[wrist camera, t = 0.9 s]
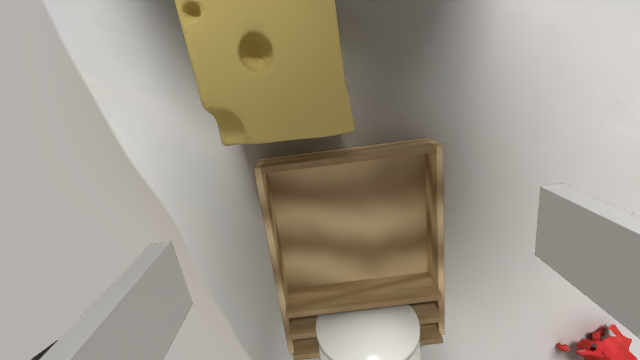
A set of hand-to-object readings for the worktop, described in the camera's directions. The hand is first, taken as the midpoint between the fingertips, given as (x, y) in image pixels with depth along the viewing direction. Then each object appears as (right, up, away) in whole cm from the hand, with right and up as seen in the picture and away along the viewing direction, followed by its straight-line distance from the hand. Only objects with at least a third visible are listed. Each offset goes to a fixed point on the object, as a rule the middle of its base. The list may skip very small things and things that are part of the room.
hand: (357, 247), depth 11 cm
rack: (+2, -4, +23) cm, 24 cm away
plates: (+3, -12, +25) cm, 27 cm away
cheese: (-5, +13, +18) cm, 23 cm away
